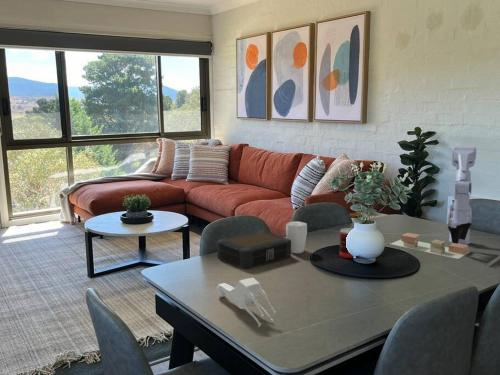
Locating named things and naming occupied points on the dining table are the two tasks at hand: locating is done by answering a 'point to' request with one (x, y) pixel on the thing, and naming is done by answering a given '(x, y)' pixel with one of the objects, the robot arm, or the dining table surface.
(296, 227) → the cup
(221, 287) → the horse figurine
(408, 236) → the cap marked
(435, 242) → the plain block
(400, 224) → the dining table surface
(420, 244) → the board
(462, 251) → the cap plain
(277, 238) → the cash box
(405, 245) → the marked block
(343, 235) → the canned food
